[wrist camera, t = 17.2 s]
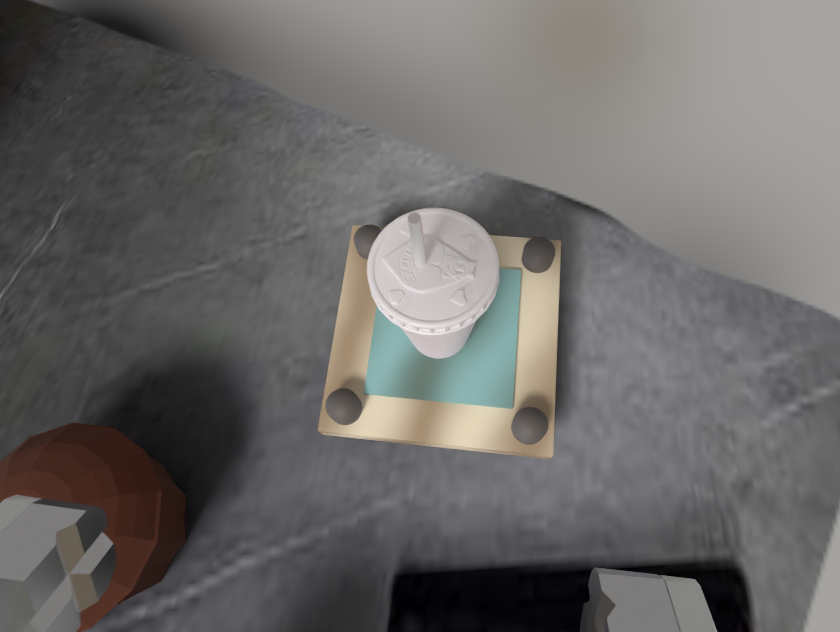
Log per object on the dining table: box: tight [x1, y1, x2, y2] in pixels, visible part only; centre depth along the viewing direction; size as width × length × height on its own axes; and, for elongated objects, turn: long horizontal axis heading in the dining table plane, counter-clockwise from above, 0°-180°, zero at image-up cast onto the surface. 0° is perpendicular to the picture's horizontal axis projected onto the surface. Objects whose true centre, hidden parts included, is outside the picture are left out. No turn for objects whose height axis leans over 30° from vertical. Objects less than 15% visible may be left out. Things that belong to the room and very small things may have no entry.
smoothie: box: [367, 208, 499, 359], centre depth 30 cm, size 6×6×14 cm
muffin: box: [0, 423, 187, 632], centre depth 34 cm, size 12×11×10 cm
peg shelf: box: [318, 225, 561, 459], centre depth 39 cm, size 14×14×6 cm
